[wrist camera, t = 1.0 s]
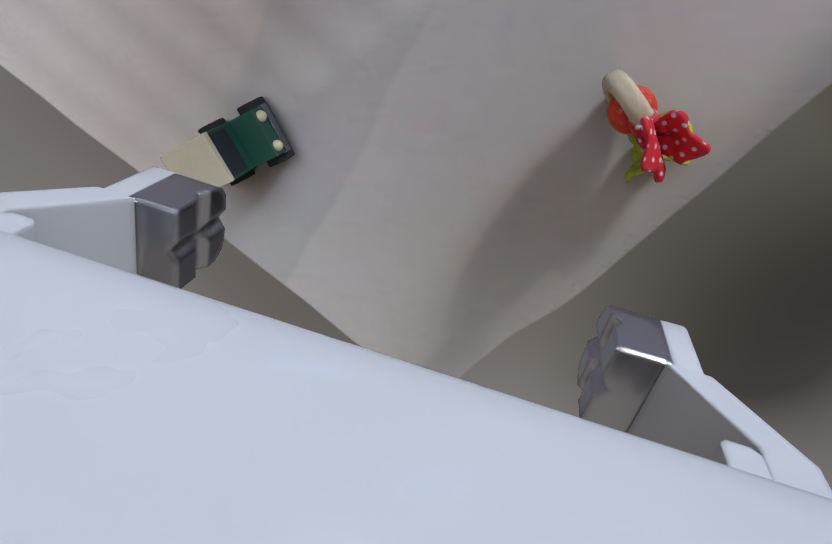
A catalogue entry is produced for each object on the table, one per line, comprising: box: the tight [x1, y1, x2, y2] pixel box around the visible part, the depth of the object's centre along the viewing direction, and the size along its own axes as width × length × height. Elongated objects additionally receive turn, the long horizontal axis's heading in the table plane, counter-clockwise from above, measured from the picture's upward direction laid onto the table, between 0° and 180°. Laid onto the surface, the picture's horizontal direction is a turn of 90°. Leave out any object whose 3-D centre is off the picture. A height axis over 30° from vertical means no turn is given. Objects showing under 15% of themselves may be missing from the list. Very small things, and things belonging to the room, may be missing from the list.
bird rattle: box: [602, 70, 711, 183], centre depth 41 cm, size 6×11×9 cm
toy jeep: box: [160, 97, 294, 187], centre depth 50 cm, size 8×6×8 cm
